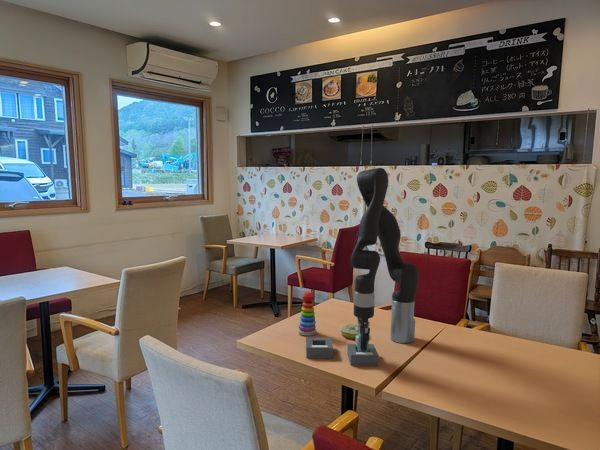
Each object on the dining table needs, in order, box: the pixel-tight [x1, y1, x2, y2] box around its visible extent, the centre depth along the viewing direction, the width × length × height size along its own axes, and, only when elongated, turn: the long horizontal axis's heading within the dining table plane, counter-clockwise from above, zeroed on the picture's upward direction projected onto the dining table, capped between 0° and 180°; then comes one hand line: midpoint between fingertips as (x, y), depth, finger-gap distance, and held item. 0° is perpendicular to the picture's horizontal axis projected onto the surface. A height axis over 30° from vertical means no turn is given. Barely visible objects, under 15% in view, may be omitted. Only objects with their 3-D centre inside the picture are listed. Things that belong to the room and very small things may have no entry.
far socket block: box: [305, 337, 334, 359], centre depth 159 cm, size 10×10×4 cm
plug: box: [355, 332, 370, 352], centre depth 153 cm, size 4×4×10 cm
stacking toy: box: [297, 290, 317, 337], centre depth 178 cm, size 8×8×19 cm
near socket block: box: [346, 343, 380, 367], centre depth 153 cm, size 10×10×4 cm
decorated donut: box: [340, 324, 358, 340], centre depth 177 cm, size 10×11×4 cm
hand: (362, 347), depth 153 cm, fingers closed on plug, 3 cm apart
